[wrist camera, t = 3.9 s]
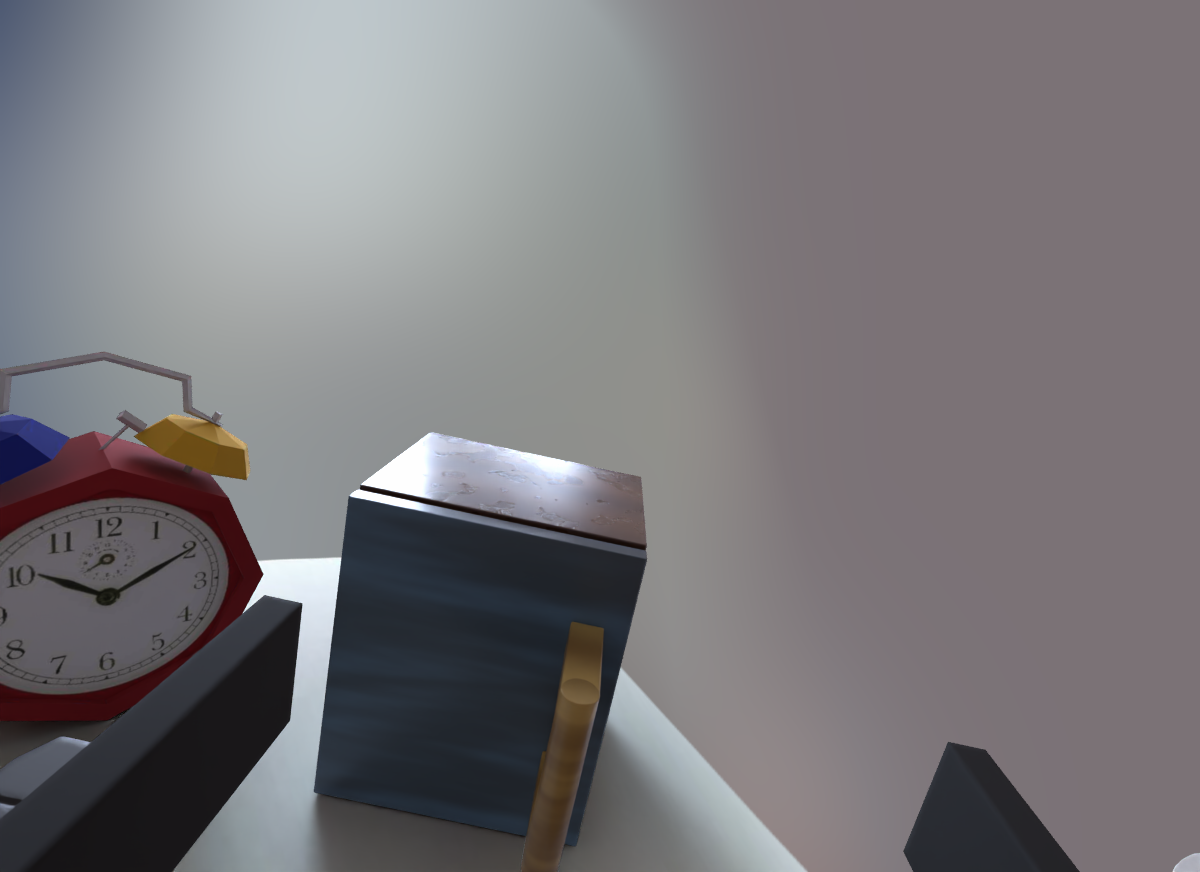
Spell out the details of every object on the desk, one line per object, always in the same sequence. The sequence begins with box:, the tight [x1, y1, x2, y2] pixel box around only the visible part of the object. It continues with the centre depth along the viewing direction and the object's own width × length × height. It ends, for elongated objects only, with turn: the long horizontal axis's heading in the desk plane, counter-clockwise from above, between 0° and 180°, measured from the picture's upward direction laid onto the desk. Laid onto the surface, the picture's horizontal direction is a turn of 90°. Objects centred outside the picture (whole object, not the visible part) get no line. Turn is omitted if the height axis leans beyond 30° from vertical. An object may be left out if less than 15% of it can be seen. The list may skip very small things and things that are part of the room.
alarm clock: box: [0, 352, 263, 721], centre depth 34 cm, size 15×9×20 cm, turn 135°
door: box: [314, 490, 647, 872], centre depth 28 cm, size 7×14×17 cm, turn 88°
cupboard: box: [360, 432, 647, 551], centre depth 37 cm, size 11×14×17 cm
